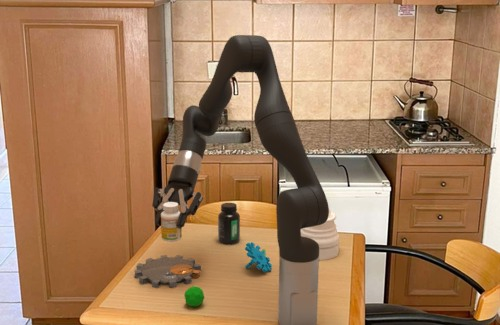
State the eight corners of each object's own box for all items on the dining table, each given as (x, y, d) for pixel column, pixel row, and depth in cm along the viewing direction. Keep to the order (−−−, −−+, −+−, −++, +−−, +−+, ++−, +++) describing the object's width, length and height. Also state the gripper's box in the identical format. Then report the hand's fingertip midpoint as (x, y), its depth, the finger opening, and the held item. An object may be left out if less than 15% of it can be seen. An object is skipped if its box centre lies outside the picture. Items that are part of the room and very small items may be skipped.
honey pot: (338, 261, 186) (340, 203, 181) (294, 258, 188) (295, 200, 183) (339, 244, 198) (341, 189, 193) (298, 242, 200) (299, 187, 195)
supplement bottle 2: (239, 244, 197) (239, 208, 194) (217, 244, 197) (217, 208, 194) (240, 236, 204) (239, 201, 201) (218, 236, 204) (218, 201, 201)
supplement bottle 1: (171, 233, 174) (170, 199, 171) (186, 237, 171) (185, 203, 168) (157, 238, 170) (156, 204, 167) (171, 244, 167) (170, 209, 164)
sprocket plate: (207, 283, 171) (206, 277, 171) (138, 291, 167) (137, 285, 166) (194, 256, 188) (194, 251, 188) (132, 263, 184) (131, 257, 183)
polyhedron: (208, 304, 160) (208, 287, 158) (194, 311, 156) (193, 294, 155) (194, 298, 163) (194, 281, 162) (180, 305, 159) (179, 287, 158)
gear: (266, 273, 173) (243, 245, 175) (251, 286, 175) (228, 257, 177) (278, 263, 184) (256, 236, 185) (264, 275, 186) (242, 248, 187)
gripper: (157, 161, 174) (138, 217, 166) (206, 166, 170) (189, 223, 162) (166, 174, 180) (148, 228, 173) (213, 179, 176) (197, 235, 169)
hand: (168, 225), depth 168 cm, fingers closed on supplement bottle 1, 5 cm apart
